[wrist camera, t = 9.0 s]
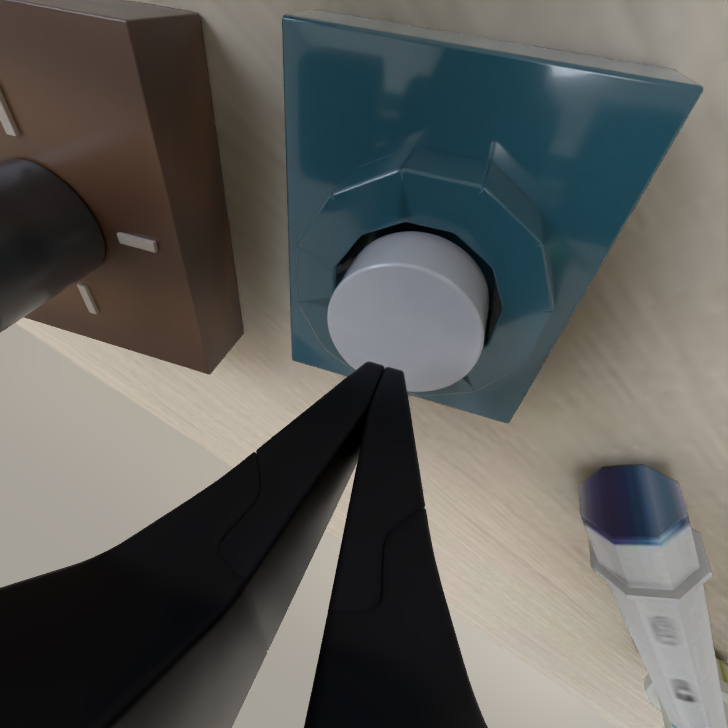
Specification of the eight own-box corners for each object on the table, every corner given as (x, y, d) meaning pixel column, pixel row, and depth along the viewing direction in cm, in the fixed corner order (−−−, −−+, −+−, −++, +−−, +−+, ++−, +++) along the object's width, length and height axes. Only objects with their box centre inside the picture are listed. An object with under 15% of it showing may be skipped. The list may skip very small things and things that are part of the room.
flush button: (353, 213, 10) (329, 244, 9) (511, 251, 10) (509, 289, 9) (342, 333, 13) (323, 369, 12) (465, 367, 13) (458, 409, 11)
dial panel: (-85, -38, 13) (-212, -41, 11) (200, 12, 12) (121, 20, 9) (69, 283, 21) (15, 318, 19) (244, 333, 20) (208, 377, 18)
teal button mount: (316, 9, 11) (240, 19, 8) (678, 69, 10) (739, 106, 7) (311, 329, 18) (271, 391, 16) (511, 385, 17) (506, 463, 14)
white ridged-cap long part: (725, 546, 14) (778, 827, 23) (680, 419, 19) (739, 692, 28) (560, 542, 17) (667, 794, 26) (559, 432, 22) (649, 677, 31)
